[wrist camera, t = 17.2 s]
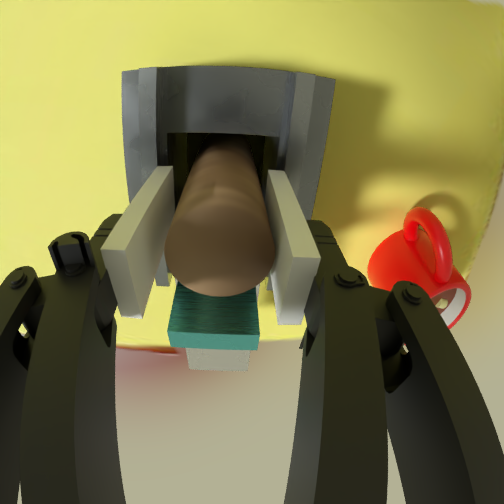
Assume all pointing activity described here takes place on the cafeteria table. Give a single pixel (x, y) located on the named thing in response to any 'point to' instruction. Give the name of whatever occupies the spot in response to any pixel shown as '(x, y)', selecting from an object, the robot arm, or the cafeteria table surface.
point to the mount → (225, 124)
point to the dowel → (221, 222)
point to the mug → (422, 264)
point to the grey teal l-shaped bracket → (215, 328)
